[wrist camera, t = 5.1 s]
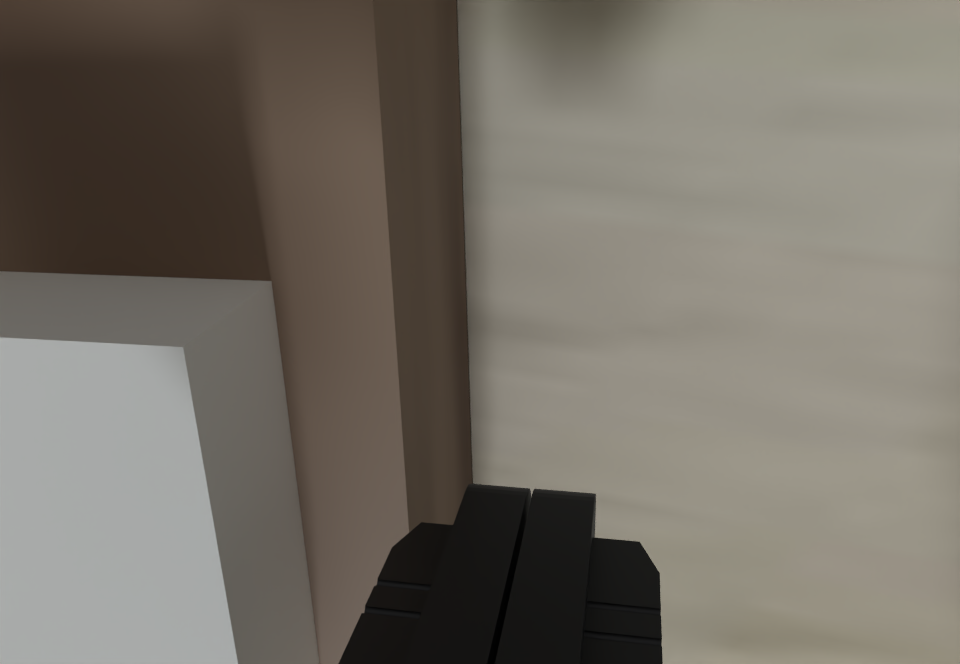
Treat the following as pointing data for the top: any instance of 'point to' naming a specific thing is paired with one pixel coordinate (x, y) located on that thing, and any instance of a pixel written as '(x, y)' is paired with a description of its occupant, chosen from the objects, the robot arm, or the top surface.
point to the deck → (272, 223)
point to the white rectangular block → (147, 475)
